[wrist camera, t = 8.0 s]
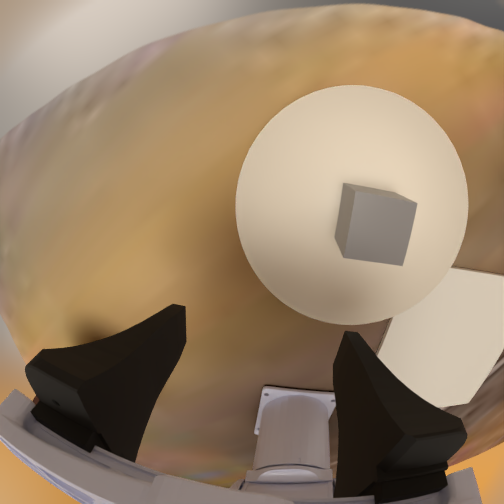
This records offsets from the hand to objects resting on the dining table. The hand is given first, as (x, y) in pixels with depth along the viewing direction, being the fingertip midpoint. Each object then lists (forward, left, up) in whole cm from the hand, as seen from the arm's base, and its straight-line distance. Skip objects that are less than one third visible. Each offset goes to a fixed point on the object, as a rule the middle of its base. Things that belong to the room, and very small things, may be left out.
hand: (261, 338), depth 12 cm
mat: (-8, -20, -10) cm, 23 cm away
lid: (+5, -5, -5) cm, 9 cm away
